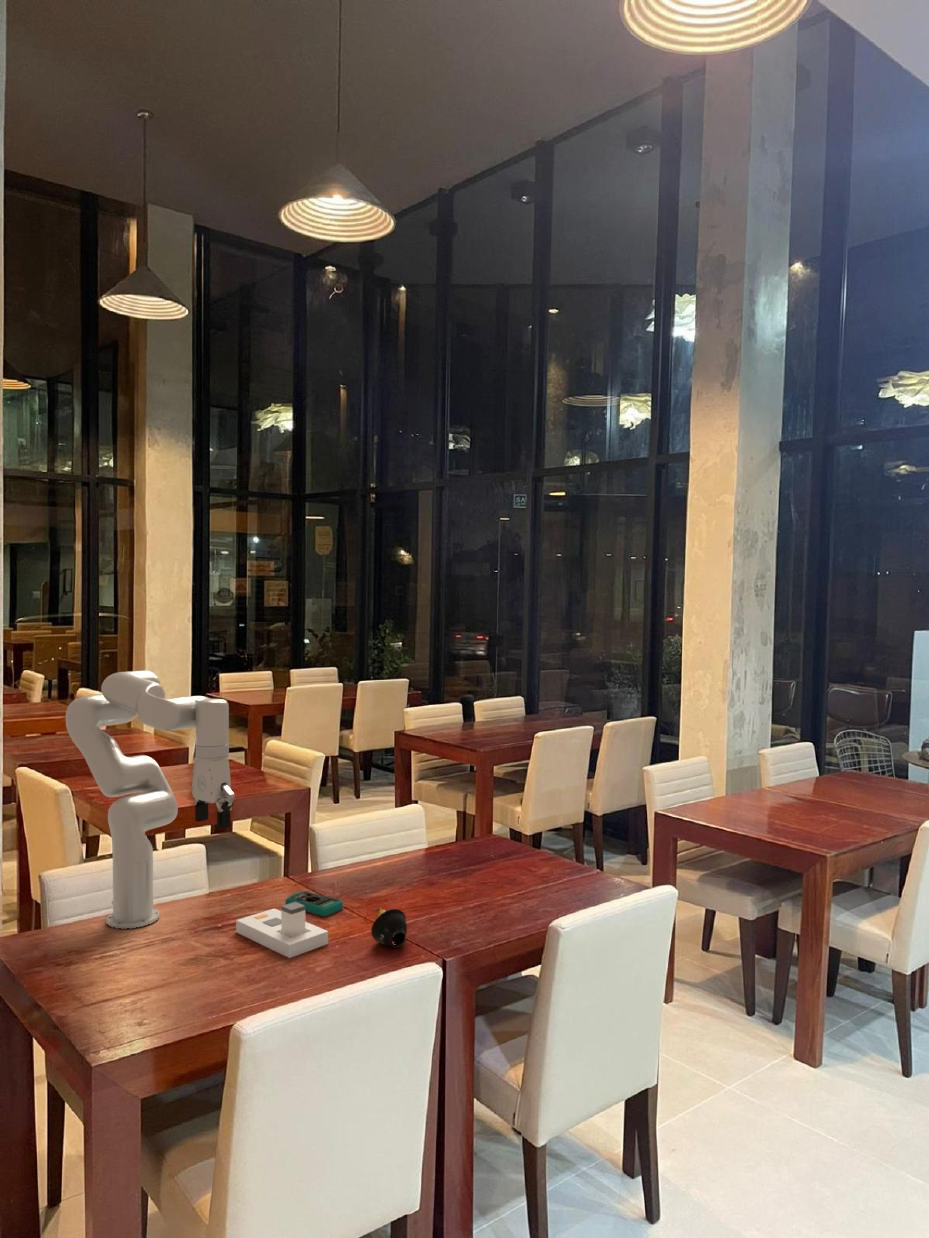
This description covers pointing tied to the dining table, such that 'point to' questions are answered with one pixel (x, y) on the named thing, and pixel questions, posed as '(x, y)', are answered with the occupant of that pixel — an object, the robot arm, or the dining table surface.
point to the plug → (293, 919)
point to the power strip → (268, 934)
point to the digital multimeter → (316, 903)
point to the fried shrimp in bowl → (390, 927)
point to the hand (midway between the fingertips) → (212, 824)
